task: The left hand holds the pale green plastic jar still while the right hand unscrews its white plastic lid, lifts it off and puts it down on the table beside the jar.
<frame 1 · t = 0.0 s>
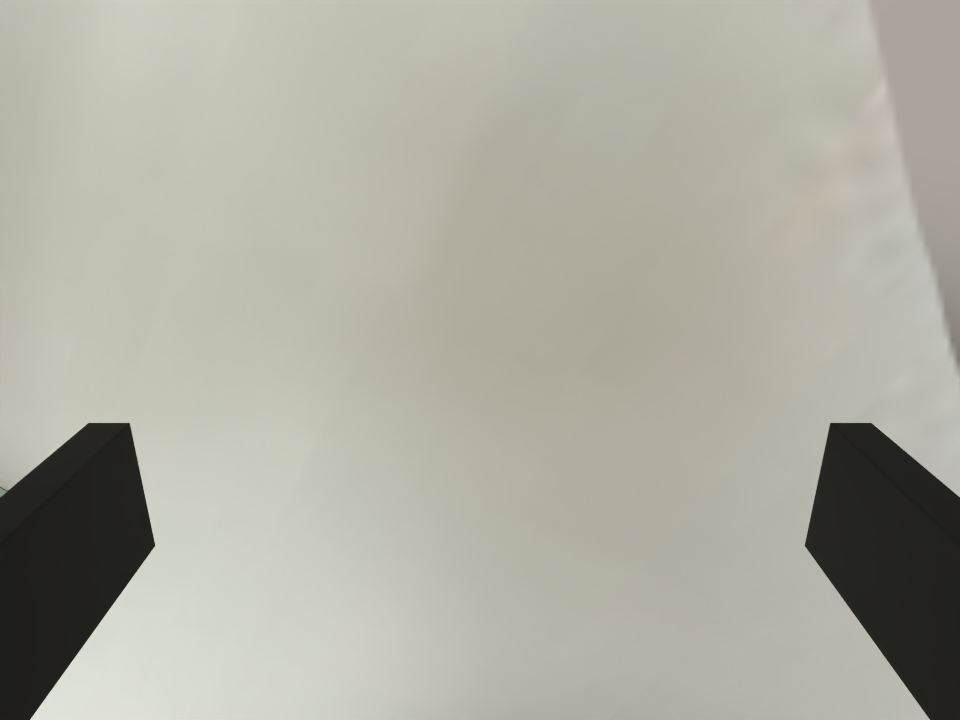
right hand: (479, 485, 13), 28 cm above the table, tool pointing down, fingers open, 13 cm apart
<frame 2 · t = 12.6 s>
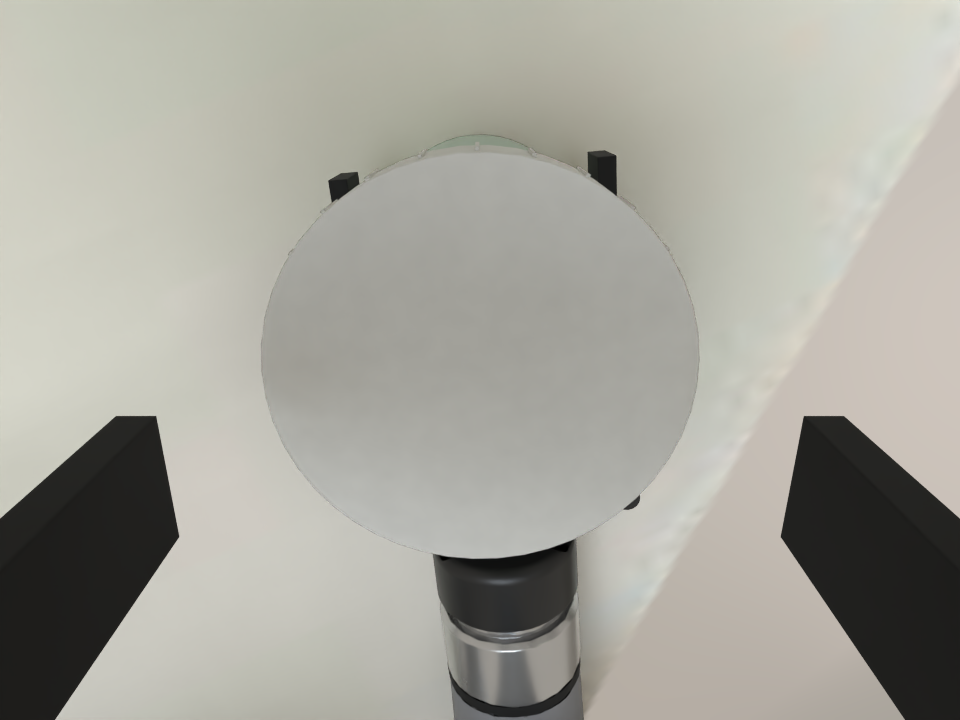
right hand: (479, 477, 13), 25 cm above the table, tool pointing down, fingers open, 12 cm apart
jar: (480, 235, 36), on the table, touching left hand
lid: (480, 374, 18), point 19 cm above the table, screwed on, not yet turned
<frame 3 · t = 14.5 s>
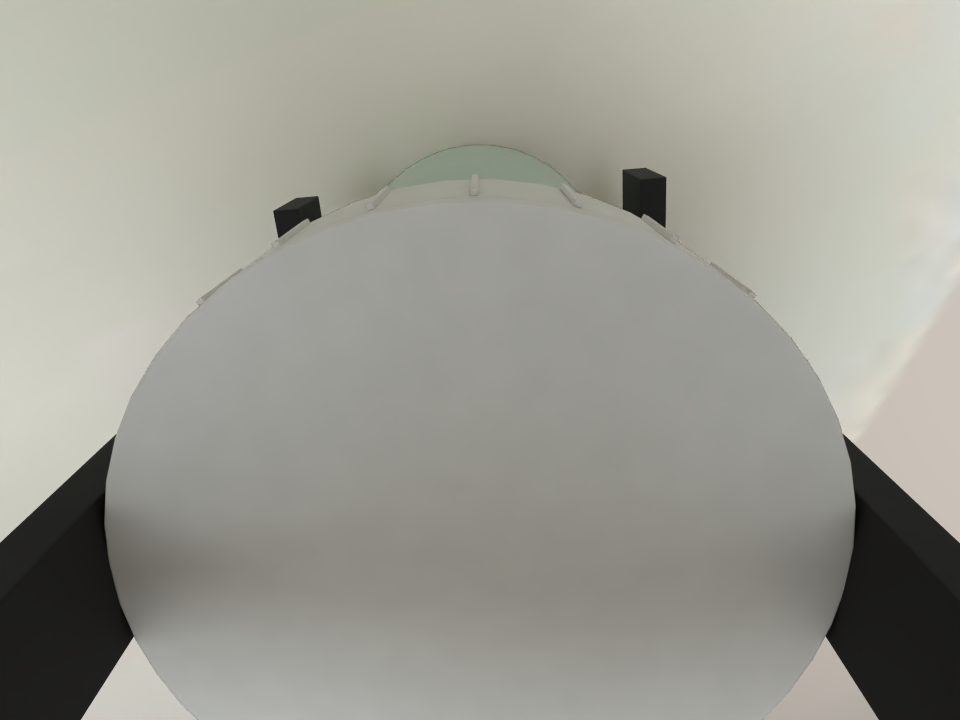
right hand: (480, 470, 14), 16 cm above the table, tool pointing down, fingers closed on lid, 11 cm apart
jar: (479, 270, 29), on the table, touching left hand
lid: (479, 561, 11), point 19 cm above the table, screwed on, not yet turned, touching right hand
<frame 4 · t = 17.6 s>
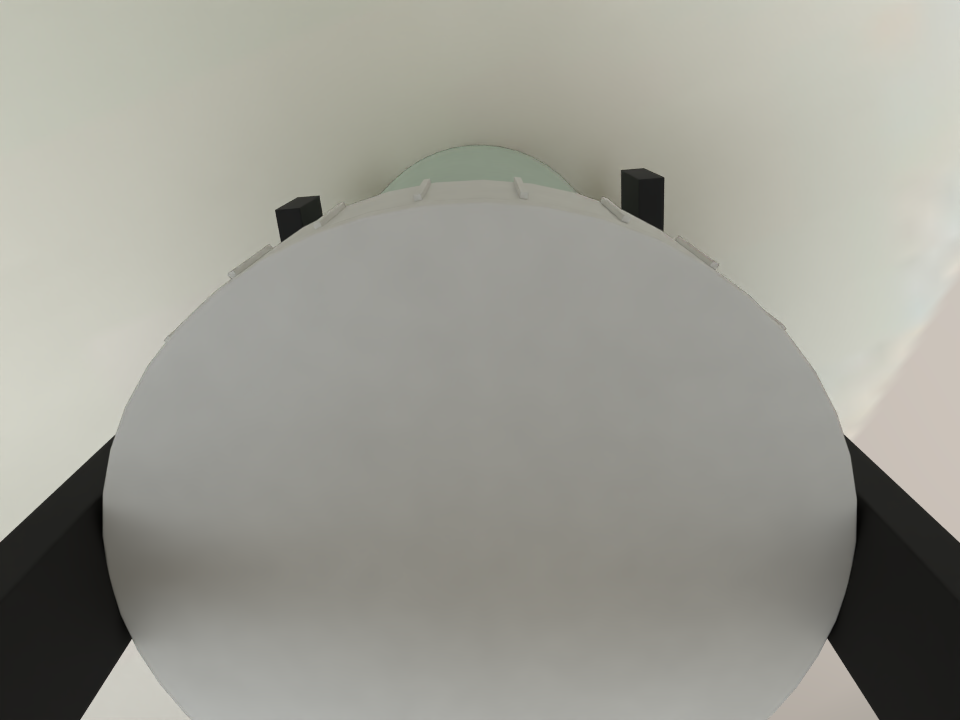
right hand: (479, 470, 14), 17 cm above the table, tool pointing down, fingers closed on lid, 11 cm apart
jar: (479, 270, 29), on the table, touching left hand
lid: (479, 564, 11), point 19 cm above the table, turned 77° so far, risen 0.2 cm, still on its thread, touching right hand
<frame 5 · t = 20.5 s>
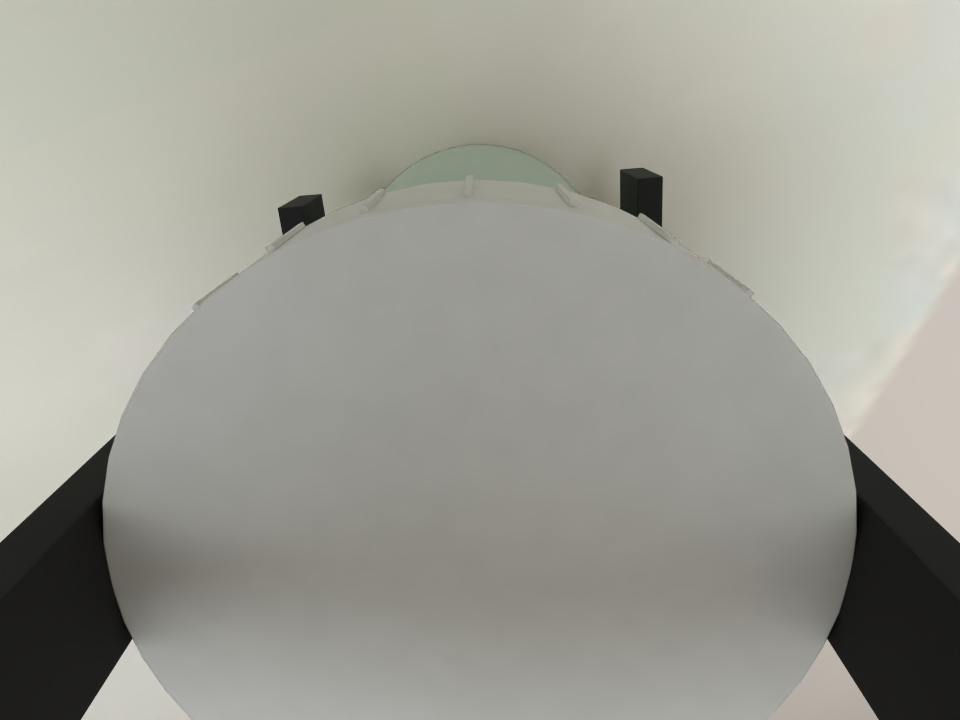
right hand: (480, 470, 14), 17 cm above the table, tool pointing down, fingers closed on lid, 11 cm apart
jar: (479, 268, 29), on the table, touching left hand
lid: (479, 564, 11), point 20 cm above the table, turned 153° so far, risen 0.5 cm, still on its thread, touching right hand
when the right hand's fingers open (0 cm above the table, at t = 27.4 s): lid drops 1 cm, point 2 cm above the table.
when the left hand's fingers open (6 cm above the table, at t = 28.4 s): jar stays where it is, on the table.
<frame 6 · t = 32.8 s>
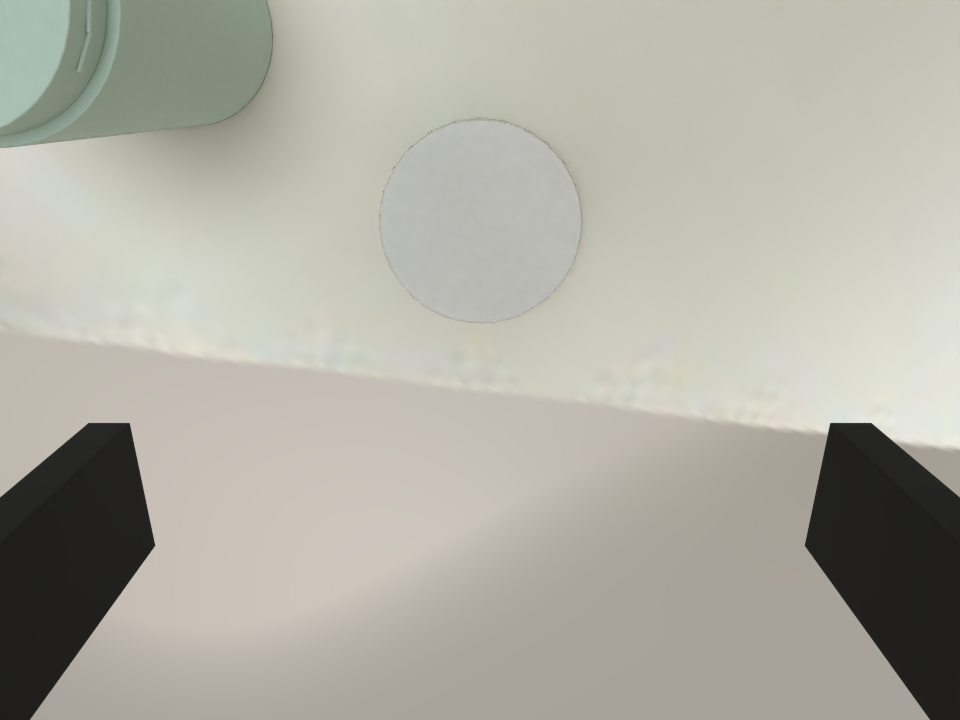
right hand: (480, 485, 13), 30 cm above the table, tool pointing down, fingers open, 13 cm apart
jar: (178, 27, 37), on the table
lid: (480, 225, 39), point 2 cm above the table, off its thread
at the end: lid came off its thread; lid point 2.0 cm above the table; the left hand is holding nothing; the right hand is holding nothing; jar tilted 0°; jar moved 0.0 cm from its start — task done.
